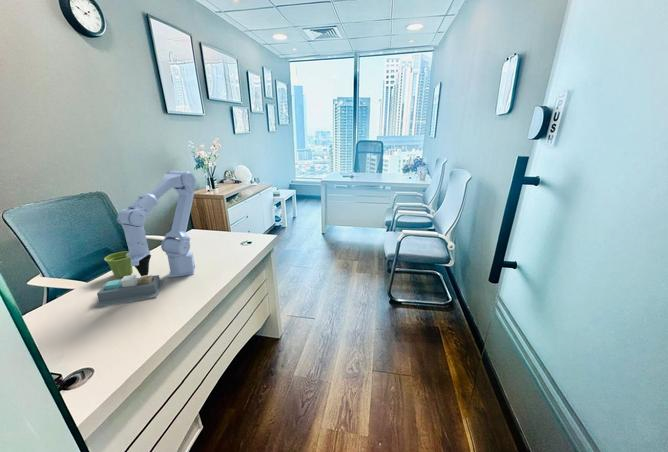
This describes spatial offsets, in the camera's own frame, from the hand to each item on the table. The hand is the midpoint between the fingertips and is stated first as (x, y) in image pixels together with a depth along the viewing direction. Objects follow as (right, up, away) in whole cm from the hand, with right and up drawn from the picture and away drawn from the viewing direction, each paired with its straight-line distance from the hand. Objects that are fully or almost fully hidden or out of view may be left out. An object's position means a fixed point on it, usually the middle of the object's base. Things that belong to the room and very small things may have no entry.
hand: (144, 275), depth 98 cm
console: (-5, -7, 0) cm, 8 cm away
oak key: (0, -5, +1) cm, 5 cm away
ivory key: (-5, -4, -1) cm, 6 cm away
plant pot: (-19, -2, +13) cm, 23 cm away
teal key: (-9, -6, -2) cm, 11 cm away
